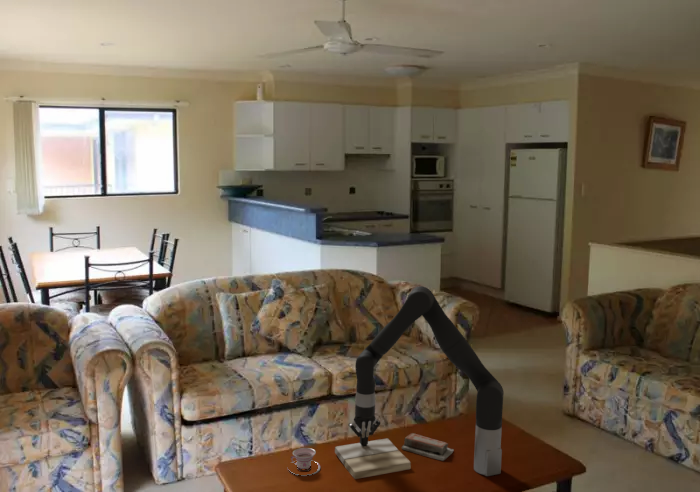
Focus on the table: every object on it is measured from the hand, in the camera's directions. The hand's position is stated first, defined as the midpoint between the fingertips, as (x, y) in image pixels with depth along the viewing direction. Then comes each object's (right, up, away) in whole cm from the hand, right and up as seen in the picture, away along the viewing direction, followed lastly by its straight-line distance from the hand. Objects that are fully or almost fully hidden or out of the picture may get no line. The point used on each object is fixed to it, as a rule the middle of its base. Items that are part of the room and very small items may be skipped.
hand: (363, 445), depth 258 cm
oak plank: (+5, -5, -11) cm, 13 cm away
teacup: (-22, -5, -13) cm, 26 cm away
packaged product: (+25, -4, +3) cm, 25 cm away
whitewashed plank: (+1, -3, -2) cm, 3 cm away
